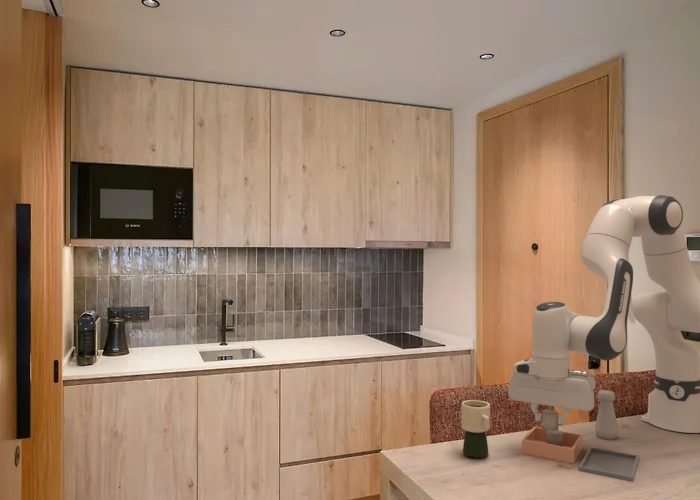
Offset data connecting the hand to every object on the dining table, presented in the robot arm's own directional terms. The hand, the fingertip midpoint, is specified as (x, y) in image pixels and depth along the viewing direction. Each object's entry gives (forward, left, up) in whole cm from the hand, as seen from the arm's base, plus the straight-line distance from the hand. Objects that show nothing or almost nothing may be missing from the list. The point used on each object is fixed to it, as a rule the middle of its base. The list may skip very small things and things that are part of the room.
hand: (549, 422), depth 136 cm
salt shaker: (-22, +10, -9) cm, 25 cm away
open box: (-3, 0, -8) cm, 9 cm away
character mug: (+9, -16, -9) cm, 20 cm away
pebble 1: (0, 0, -1) cm, 1 cm away
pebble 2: (-5, 0, -8) cm, 9 cm away
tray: (-1, +14, -8) cm, 16 cm away
